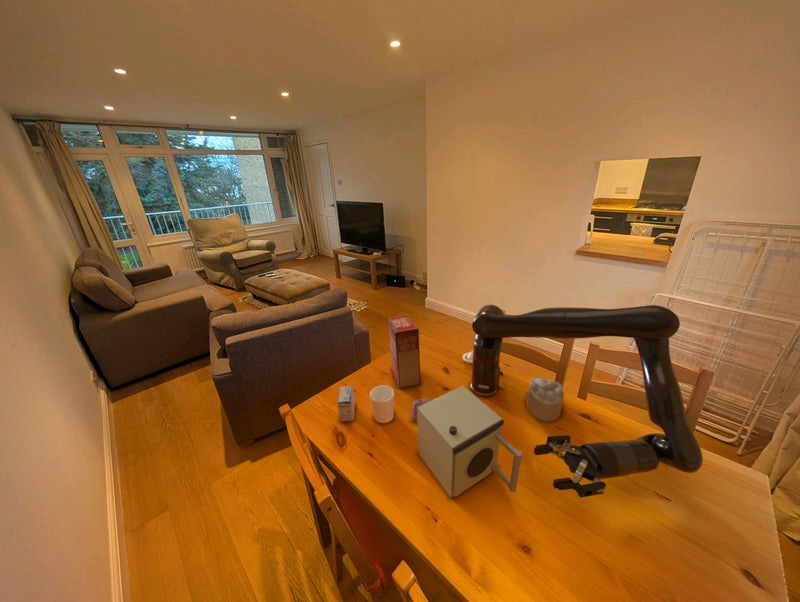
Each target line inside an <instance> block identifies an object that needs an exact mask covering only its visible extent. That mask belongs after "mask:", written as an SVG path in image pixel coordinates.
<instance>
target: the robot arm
mask: <svg viewBox="0 0 800 602" xmlns="http://www.w3.org/2000/svg"><path fill="white" fill-rule="evenodd" d="M680 326H681V321H680V318H679V316H678V315H677V313H675V312H674V311H673V310H671V309H670V308H668V307H665V306H663V305H658V304H649V305H648V304H647V305H642V306H632V307H631V306H630V307H622V308H621V307H620V308H597V307H596V308H594V307H577V306H576V307H572V306H571V307H567V306H565V307H563V306H562V307H545V308H540V309H536V310H532V311H529V312H525V313H522V314H514V315H506V314H505V313H504V311H503V310H502V308H501V307H500V306H498V305H495V304H486V305H484V306H482V307H481V308H480V309H479V310H478V311H477V313H476V315H475V317H474V318H473V320H472V324H471V329H472V331H473V332H474V333H475V337H474V341H473V346H472V348H473V349H472V350H473V363H472V364H471V366H472V367H471V379H470V381H471V382H470V389H471V391H472V393H473V394H476V395H478V396H481V397H492V396H494V395H495V394H496V393H497V391H498V389H499V385H500V377H501V376H504V375H505V374H504V373H503V372H502V371H501V366H500V359H501V350H502V345H503V340H504V339H507V338H509V339H510V338H536V339H537V338H538V339H540V338H541V339H543V338H544V339H559V340H561V339H563V340H564V339H565V340H566V339H567V340H573V339H592V338H601V337H615V338H616V337H617V338H629V339H630V338H631V339H633V340H634V342H635V345H636V348H637V353H638V356H639V360H640V363H641V365H640V366H641V371H642V377H643V385H644V386H643V387H644V393H645V401H646V407H647V412H648V413H647V414H648V418H649V421H650V422H651V423H652V424H654V425H656V426H657V427H658V428H660V429H661V430H662V431H663V433H661V432H659V433H658V432H656V433H655V432H654V433H647V434H644V435H641V436H640V437H638V438H636V439H629V440H619V441H617V440H609V441H599V442H591V443H590V442H589V443H583V444H582V445H576V444H575V445H574V443H573V442H572V441H571V439H572V437H571V436H570V435H568V434H565V435H563V434H562V435H548V436H547V437H546V442H545V444H537V445H535V447H534V448H533V454H534V455H535V456H543V455H549V454H551V455H553V456H556V457H557V458H558V459H560V460H562V461H563V463H564V464H565V465H566V466H567V467H568V469H569V471H570V473H572V474H573V476H572V478H570V477H564V478H555V479H553V481H552V486H553V489H555V490H556V489H557V490H558V491H566V490H573V491H575V492H576V493H577V496H578V497H579V498H581V499H582V498H587V497H588V498H589V497H593V496H599V495H603V494H604V493H605V491H606V487H607V484H606V482H604V481H603V480H606V479H611V478H613V479H615V478H620V477H628V476H631V475H635V474H636V475H637V474H643V473H644V474H645V473H651V472H653V471H656V470H657V469H658V468H659V467H660V464H663V465H665V466H668V467H670V468H673V469H675V470H677V471H680V472H683V473H686V474H694V473H696V472H699V471H700V469H701V468H702V465H703V460H704V459H703V451H702V449H701V447H700V444H699V443H698V441H697V438H696V436H695V434H694V432H693V430H692V428H691V426H690V425H689V422H688V420H687V415H686V408H685V403H684V398H683V393H682V390H681V386H680V383H679V380H678V378H677V375H676V373H675V370H674V367H673V364H672V358H671V351H670V339H671V338H672V337H674V335H676V333H677V332H678V331H679V329H680ZM563 452H564V454H563ZM583 479H586V480H587V481H590V483H585V484H581V482H582V480H583Z"/></svg>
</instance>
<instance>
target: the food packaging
mask: <svg viewBox="0 0 800 602" xmlns="http://www.w3.org/2000/svg"><path fill="white" fill-rule="evenodd" d="M387 322H388V324H387V325H388V334H389V345H390V355H391V367H392V368H391V370H392V373H393V376H394V379H395V381H396V384H397V386H398V389H400V390H401V389H406V388H411V387H416V386H420V385H421V384H422V380H421V356H420V329H419V327H418V326H417V324H416V323H415V321H414V319H413V318H412V316H411V315H410V313H404V314H399V315H393V316H388V317H387Z"/></svg>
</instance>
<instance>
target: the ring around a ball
mask: <svg viewBox="0 0 800 602" xmlns="http://www.w3.org/2000/svg"><path fill="white" fill-rule="evenodd" d="M462 360H463V361H464V362H465V363H467V364H471V365H472V363H473V349H471V351H470V352H465V353H464V354H463V355H462Z"/></svg>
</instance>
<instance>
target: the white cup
mask: <svg viewBox="0 0 800 602" xmlns="http://www.w3.org/2000/svg"><path fill="white" fill-rule="evenodd" d="M369 397H370V402H371V408H372V414H373V417H374V420H375V421H376V422H377V423H379V424H388V423H389V422H392V420H393V419H394V417H395V416H394V415H395V391H394V389H393V387H391V386H390V385H387V384H386V385H385V384H382V385H377V386H375V387H374V388H372V389H371V390H370V393H369Z"/></svg>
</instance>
